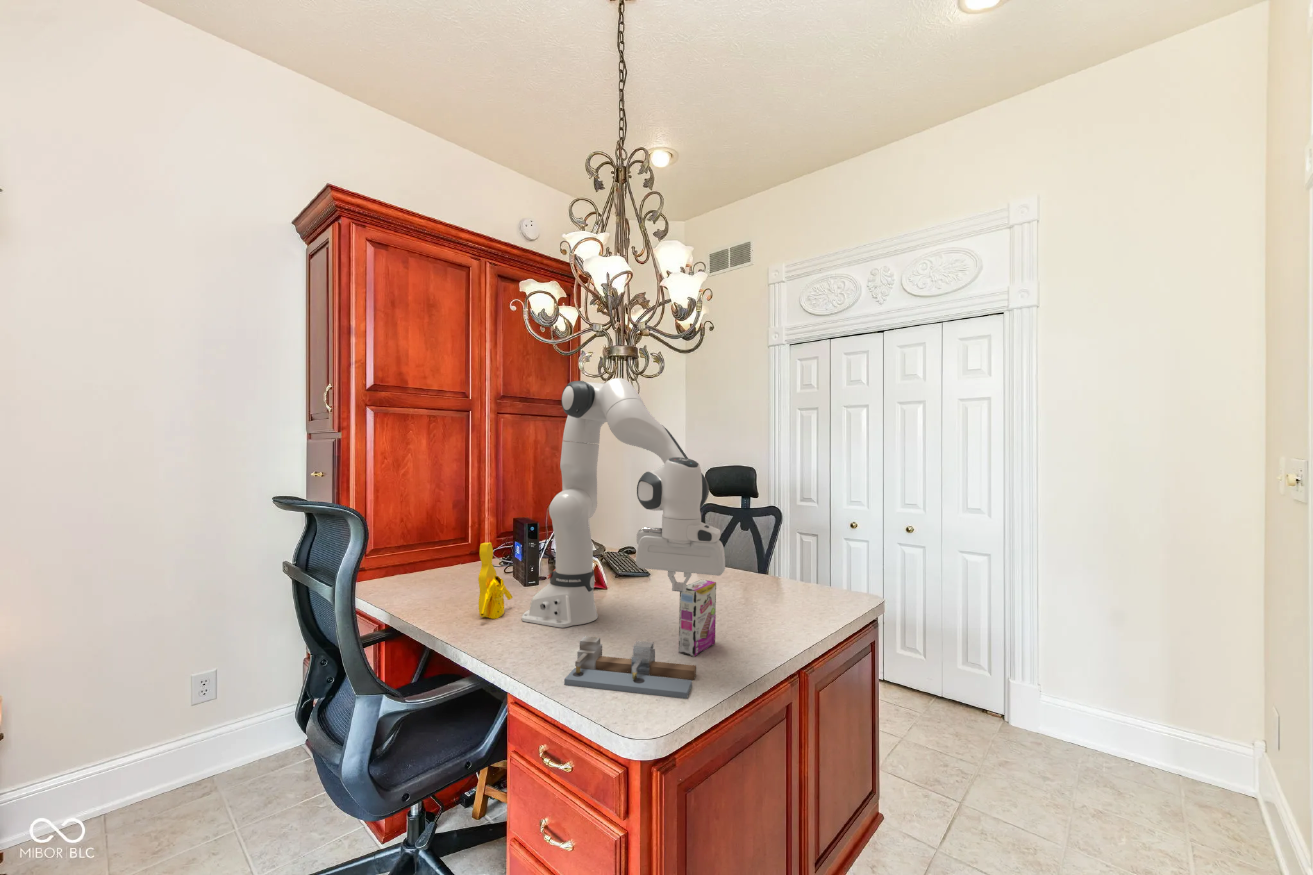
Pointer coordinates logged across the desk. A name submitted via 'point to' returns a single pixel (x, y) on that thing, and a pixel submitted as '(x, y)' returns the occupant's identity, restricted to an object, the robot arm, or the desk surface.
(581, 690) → the desk surface
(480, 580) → the figure statuette
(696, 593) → the candy bar box
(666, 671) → the rail
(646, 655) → the sliding jaw
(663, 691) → the flange plate
